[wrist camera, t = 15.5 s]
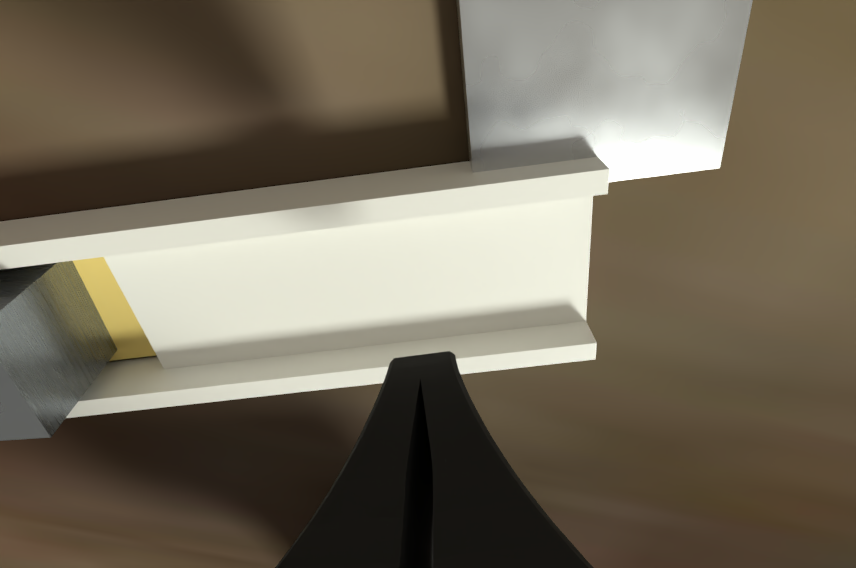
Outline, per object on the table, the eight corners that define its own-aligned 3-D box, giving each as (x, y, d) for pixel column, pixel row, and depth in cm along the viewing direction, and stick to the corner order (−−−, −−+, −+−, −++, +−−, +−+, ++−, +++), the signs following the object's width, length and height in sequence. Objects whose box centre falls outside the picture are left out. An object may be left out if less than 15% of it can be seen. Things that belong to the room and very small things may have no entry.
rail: (578, 323, 18) (595, 359, 17) (-47, 394, 19) (-90, 435, 18) (587, 145, 15) (609, 168, 13) (-178, 244, 16) (-248, 277, 14)
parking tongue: (702, 156, 15) (719, 168, 14) (471, 185, 15) (474, 198, 15) (754, -143, 11) (782, -152, 11) (448, -97, 12) (451, -102, 11)
